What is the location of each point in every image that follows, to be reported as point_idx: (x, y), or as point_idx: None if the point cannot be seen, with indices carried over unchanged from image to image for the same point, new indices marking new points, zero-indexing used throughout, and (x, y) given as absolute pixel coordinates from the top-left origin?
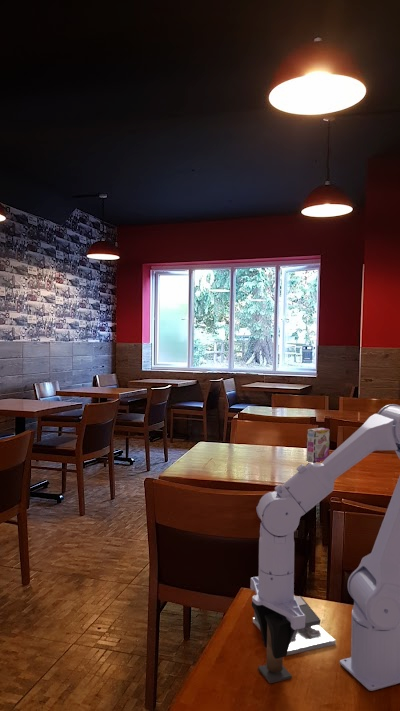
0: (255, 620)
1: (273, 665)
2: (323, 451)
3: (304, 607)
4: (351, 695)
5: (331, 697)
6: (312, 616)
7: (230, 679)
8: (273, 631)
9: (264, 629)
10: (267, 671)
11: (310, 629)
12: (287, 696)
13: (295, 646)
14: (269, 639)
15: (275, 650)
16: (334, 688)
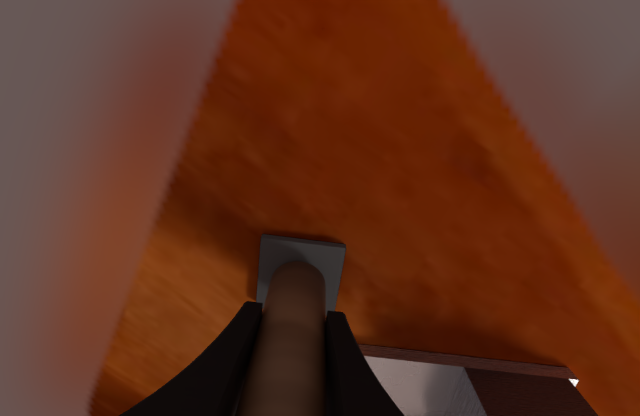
0: (559, 378)
1: (273, 282)
2: None
3: None
4: (135, 378)
5: (143, 337)
6: None
7: (345, 127)
8: (149, 400)
9: (334, 371)
10: (308, 259)
11: None
12: (187, 244)
13: None
14: (276, 345)
15: (230, 323)
16: (174, 363)
